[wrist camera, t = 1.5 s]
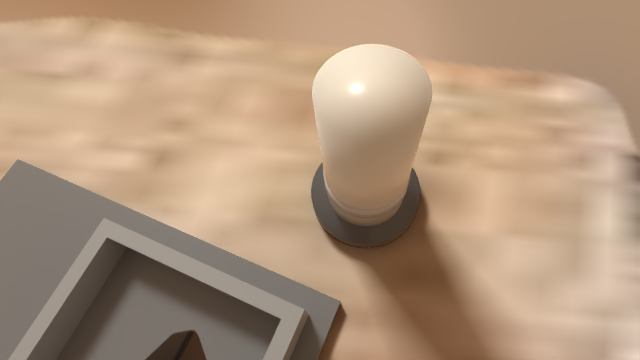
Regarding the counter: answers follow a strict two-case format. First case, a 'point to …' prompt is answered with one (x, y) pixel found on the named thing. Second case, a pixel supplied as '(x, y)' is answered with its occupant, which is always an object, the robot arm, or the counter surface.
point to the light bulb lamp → (369, 143)
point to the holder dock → (135, 284)
